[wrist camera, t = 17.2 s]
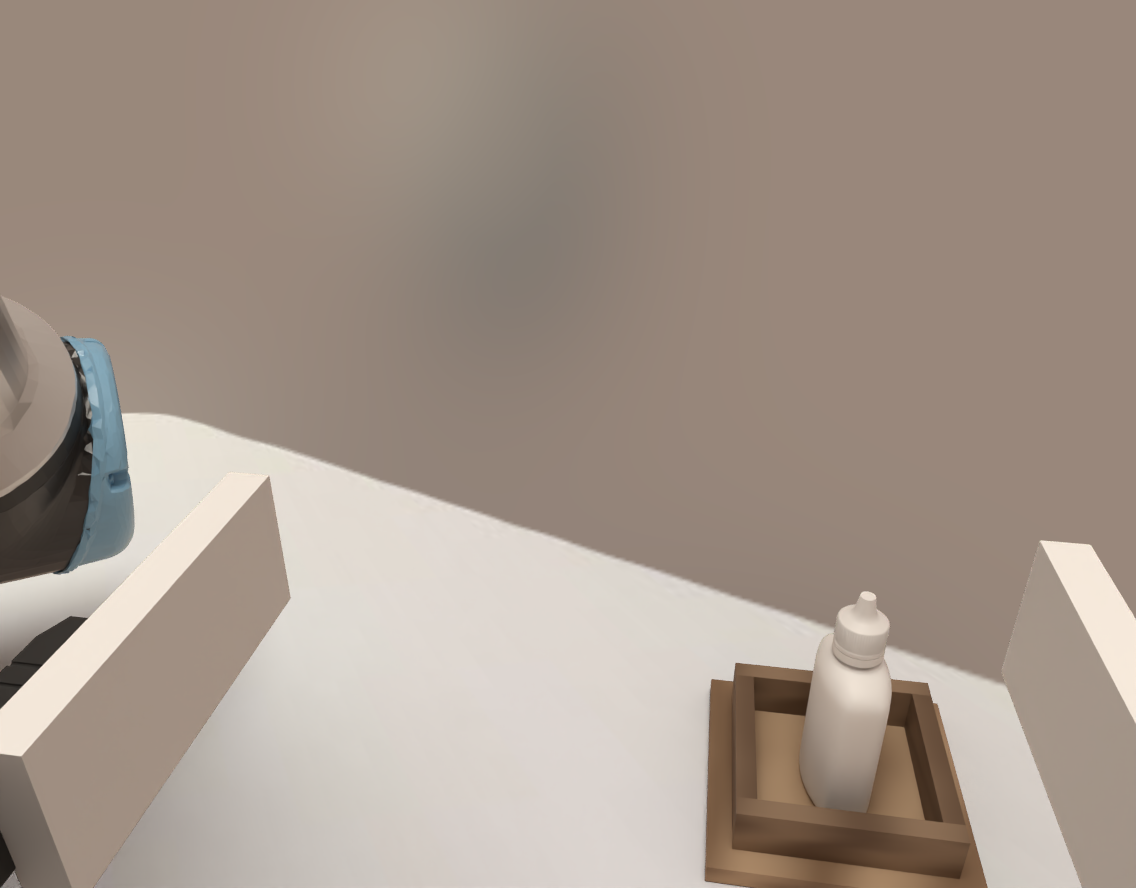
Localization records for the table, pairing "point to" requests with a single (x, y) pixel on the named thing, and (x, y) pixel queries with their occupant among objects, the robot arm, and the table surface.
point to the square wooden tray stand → (823, 835)
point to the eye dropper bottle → (847, 709)
